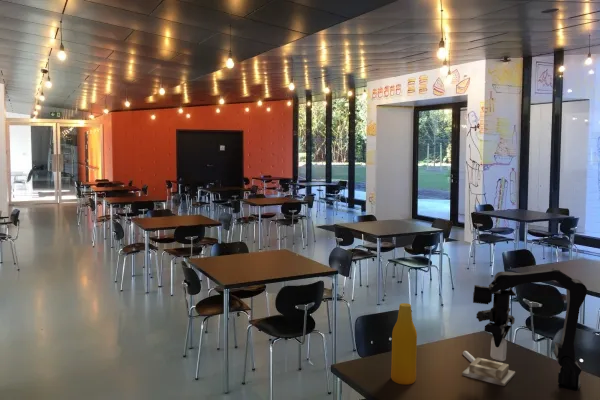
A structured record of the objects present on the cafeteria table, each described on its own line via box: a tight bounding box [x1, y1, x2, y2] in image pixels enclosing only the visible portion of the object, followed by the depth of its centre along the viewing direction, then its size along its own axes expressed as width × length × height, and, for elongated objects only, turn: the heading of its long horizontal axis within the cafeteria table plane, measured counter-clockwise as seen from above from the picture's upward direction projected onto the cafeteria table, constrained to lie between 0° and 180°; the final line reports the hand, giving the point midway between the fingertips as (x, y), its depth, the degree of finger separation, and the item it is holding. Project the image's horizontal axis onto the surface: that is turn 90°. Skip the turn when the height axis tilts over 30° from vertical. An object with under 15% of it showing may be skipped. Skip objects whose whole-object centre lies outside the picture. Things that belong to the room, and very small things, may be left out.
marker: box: [462, 350, 476, 364], centre depth 222 cm, size 3×2×16 cm
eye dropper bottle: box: [489, 337, 508, 362], centre depth 203 cm, size 4×6×12 cm
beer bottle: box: [390, 302, 418, 386], centre depth 200 cm, size 9×9×29 cm
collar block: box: [461, 357, 516, 387], centre depth 206 cm, size 16×14×4 cm
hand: (498, 345), depth 203 cm, fingers closed on eye dropper bottle, 4 cm apart
